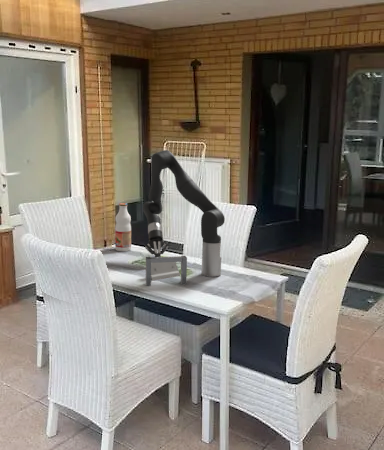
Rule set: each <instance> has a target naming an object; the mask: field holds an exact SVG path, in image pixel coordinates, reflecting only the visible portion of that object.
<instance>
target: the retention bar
mask: <svg viewBox="0 0 384 450" xmlns="http://www.w3.org/2000/svg"><path fill="white" fill-rule="evenodd" d="M160 262H176V263H180V283H181V285H187V274H188V271H187V269H188V258H187V256H186V255H179V256H178V255H177V256H161V257H155V256H151V257H150V256H146V257H145V285H146V287H151V286H152V278H151V263H160Z"/></svg>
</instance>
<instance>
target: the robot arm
mask: <svg viewBox="0 0 384 450" xmlns="http://www.w3.org/2000/svg"><path fill="white" fill-rule="evenodd" d="M165 169H168V170H170V171H171V173H172V174H173V176H174V179H175V187H176V189H177V191H178V192H179V193H180V195H181V196H182V197H183V198H184V199H185V200H186V201H187V202H188V203H190V204H192V206H193V205H194V206H195V207H196V208H198V209H199V210H200V211H202V213H203V214H202V215H201V219H200V234H201V235H200V236H201V238H202V247H201V248H202V249H201V251H202V252H201V275H202V276H204V277H209V278H210V277H211V278H212V277H213V278H215V277H219V276H221V274H222V271H221V270H222V256H221V250H222V249H221V246H222V244H221V243H222V237H221V236H220V234H218V228H220V227H222V226H223V225H224V224H225V220H226V218H225V215H224V213H223V212H222V211H221V210H220V209H219V208H218V207H217V206H216V204H214V203H213V202H212V201H211V200H210V199H209V198H208V197H207V196H206V194H205V193H204V192H203V191H202V190H201V188H200V187H199V186H198V185H197V183H196V182H195V181H194V180H193V179H192V178H191V177H190V175H189V174H188V173H187V172H186V170H185V169H184V167H182V166H181V164H180V162H179V161H178V159H177V158H176V157H175V156H174V153H172V152H171V151H170V150H168V149H167V150H165V149H164V150H160V151H158V152H155V153H154V154H152V155H151V159H150V187H149V191H148V199H149V201H146V202H144V203H143V205H142V206H143V207H142V211H143V213H144V215H145V217H146V219H147V234H148V243H146V244H145V246H144V248H145V250H147V252H148V253H149V254H151V255H153V256H154V257H162V256H161V255H164V253H165V252H166V251H167V249H168V248H169V243H165V241H164V236H163V228H162V225H161V224H162V221H161V216H159V215H160V214H161V213H162V212H163V207H162V195H163V190H164V185H163V181H162V180H161V173H162V170H165Z"/></svg>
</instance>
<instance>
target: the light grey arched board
mask: <svg viewBox="0 0 384 450" xmlns="http://www.w3.org/2000/svg"><path fill="white" fill-rule="evenodd" d="M175 277H176V278H177V277H181V271H179V269H178V265H177V262H160V263H151V282H152V281H153V282H155V281H157V280H158V281H159V280H166V279H170V278H171V279H172V278H175Z"/></svg>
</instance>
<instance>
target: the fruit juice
mask: <svg viewBox="0 0 384 450" xmlns="http://www.w3.org/2000/svg"><path fill="white" fill-rule="evenodd" d="M118 207H119V209H118V213H117V214H116V215H115V223H116V224H115V227H114V228H115V229H114V230H115V231H114V233H115V235H114V236H115V237H114V240H115V241H114V248H115V250H116V251H118V252H130V251H131V250H132V224H131V221H132V219H131V218H132V217H131V214H129V212H128V203H126V202H121V203H118Z"/></svg>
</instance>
